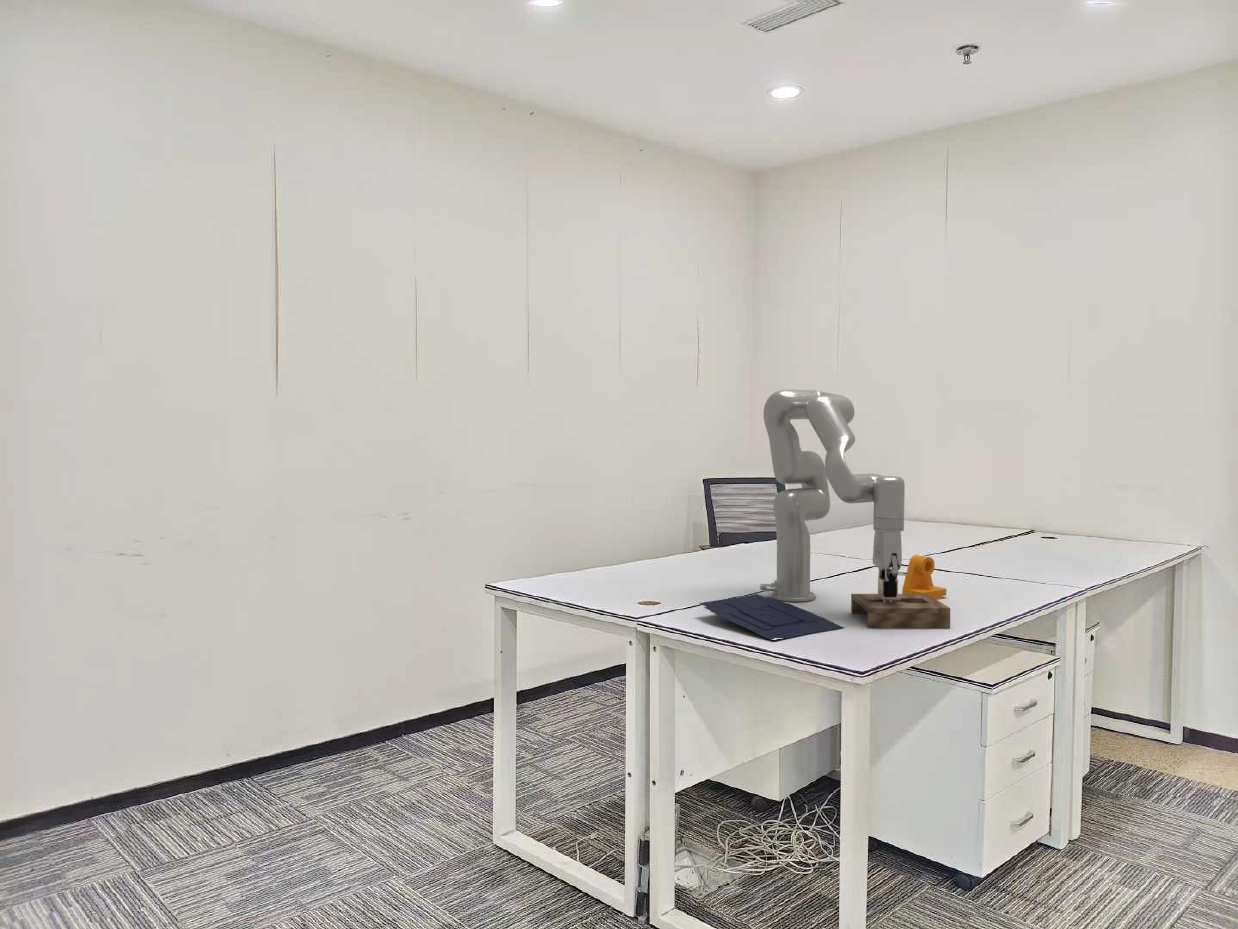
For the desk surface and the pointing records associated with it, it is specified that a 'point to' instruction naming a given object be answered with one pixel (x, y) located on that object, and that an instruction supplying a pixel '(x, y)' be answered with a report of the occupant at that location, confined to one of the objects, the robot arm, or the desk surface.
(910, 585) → the bracket
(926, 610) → the keyhole board
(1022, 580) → the desk surface
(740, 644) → the desk surface
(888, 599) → the peg
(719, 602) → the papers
